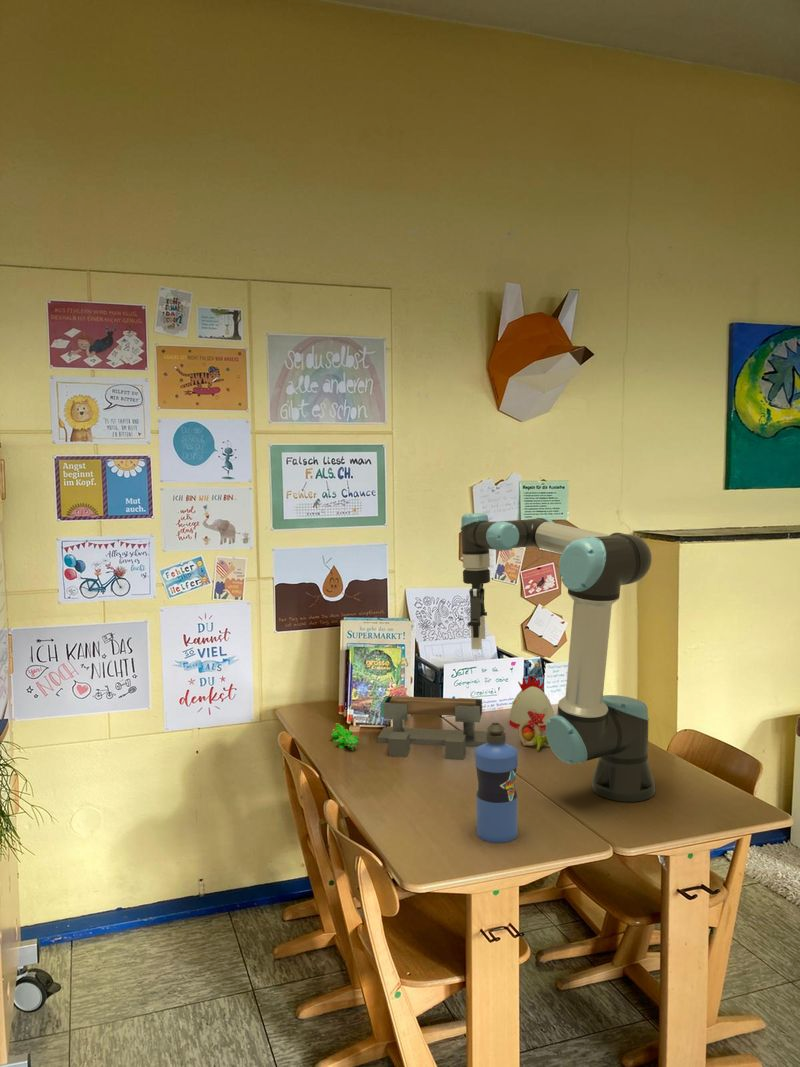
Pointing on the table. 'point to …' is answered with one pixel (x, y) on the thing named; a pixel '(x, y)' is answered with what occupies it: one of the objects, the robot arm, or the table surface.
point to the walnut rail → (432, 705)
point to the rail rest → (401, 745)
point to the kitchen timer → (530, 704)
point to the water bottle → (496, 787)
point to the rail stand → (432, 736)
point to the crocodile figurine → (344, 737)
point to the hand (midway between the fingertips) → (478, 643)
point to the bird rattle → (532, 730)
